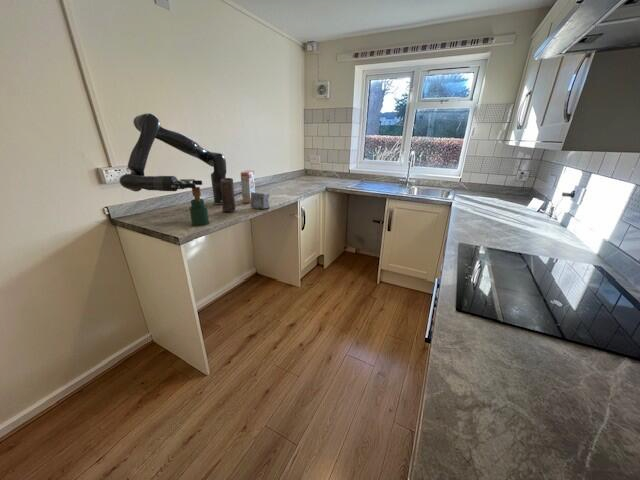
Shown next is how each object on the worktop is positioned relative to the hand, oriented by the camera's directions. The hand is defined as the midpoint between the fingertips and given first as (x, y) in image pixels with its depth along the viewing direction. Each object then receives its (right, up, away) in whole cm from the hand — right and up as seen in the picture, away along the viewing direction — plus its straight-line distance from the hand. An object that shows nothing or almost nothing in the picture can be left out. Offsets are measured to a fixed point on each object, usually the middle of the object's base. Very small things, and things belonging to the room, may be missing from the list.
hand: (198, 184), depth 130 cm
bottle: (-2, -19, +8) cm, 21 cm away
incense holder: (+22, -7, +39) cm, 46 cm away
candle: (+5, -11, +30) cm, 32 cm away
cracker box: (+10, 0, +56) cm, 57 cm away
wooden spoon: (-3, -18, +7) cm, 20 cm away
